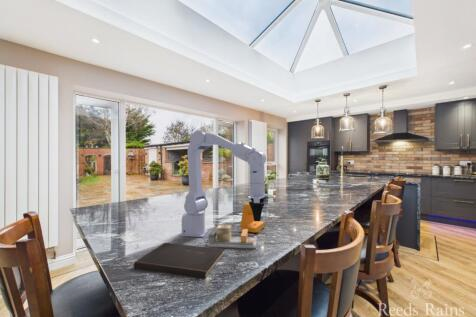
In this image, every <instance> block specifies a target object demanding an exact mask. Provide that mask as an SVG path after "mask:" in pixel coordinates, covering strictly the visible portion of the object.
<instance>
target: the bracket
mask: <svg viewBox="0 0 476 317" xmlns="http://www.w3.org/2000/svg"><path fill="white" fill-rule="evenodd" d="M264 228H265V221H263V220H260V221H254V218H253V212H252V209H251V207H250V205H249V202H244V204H243V207H242V213H241V221H240V231H242V230H243V229H248V233H260V232H261V231H262V230H263V229H264Z"/></svg>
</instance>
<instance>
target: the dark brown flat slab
mask: <svg viewBox="0 0 476 317" xmlns="http://www.w3.org/2000/svg"><path fill="white" fill-rule="evenodd" d="M224 251H225V249H224V248H219V247H207V246H206V247H205V246H197V245H191V244H190V245H189V244H180V243H179V244H178V243H171V242H164V243H163V244H161V245H159V246H158V247H156V248H155V249H153V250H151V251H150V252H148V253H147V254H145V255H144V256H142V257H141V258H139V259H137V260H135V261H134V264H133V268H134V269H135V270H140V271H141V270H142V271H148V272H149V271H150V272H153V273H154V272H155V273H161V274H170V275H176V276H183V277H188V278H196V279H203V280H205V279H206V278H207V276H208V275H209V274H210V272H211V271H212V269H213V268H214V267H215V266H216V264H217V263H218V262H219V260H220V259H221V258H222V256H223V255H224Z"/></svg>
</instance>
